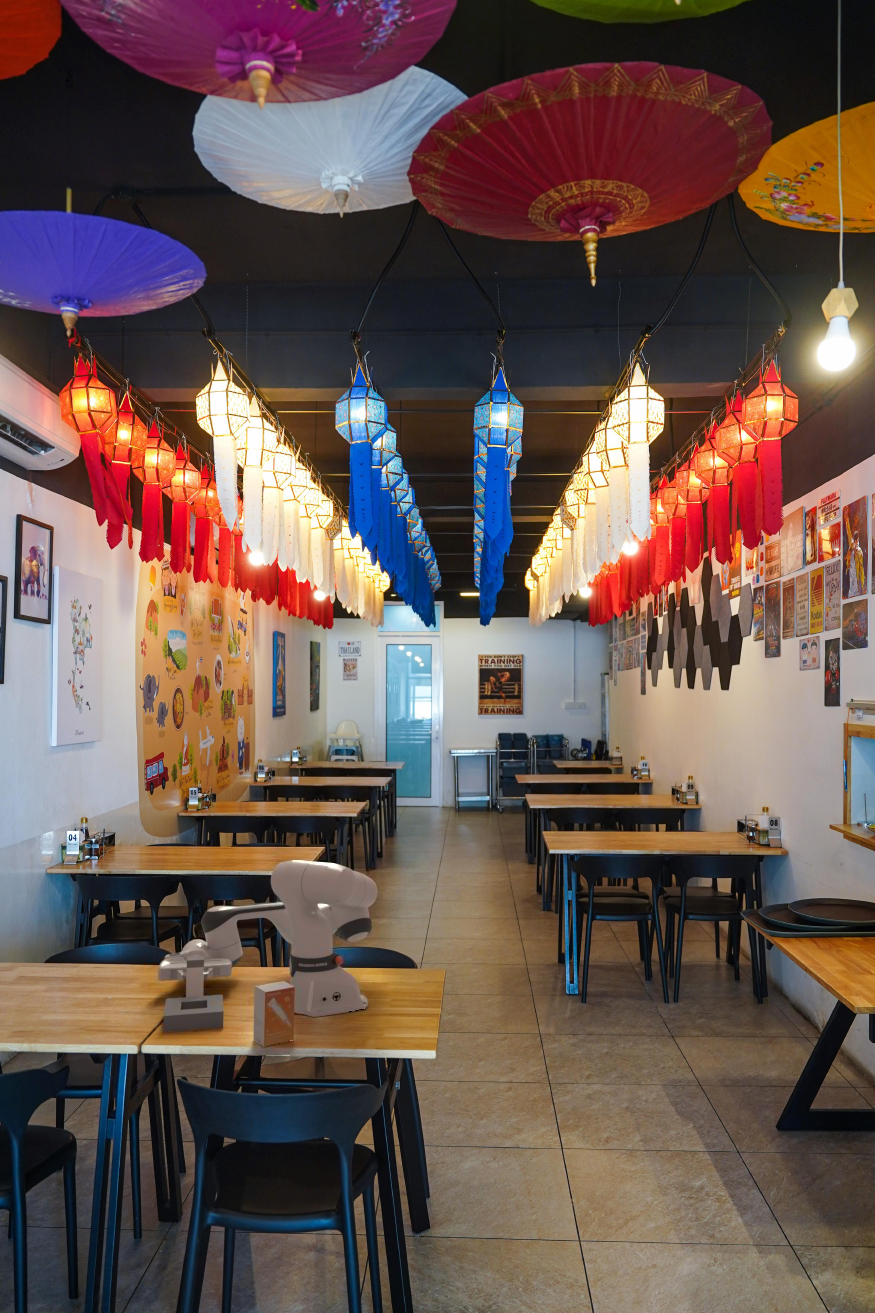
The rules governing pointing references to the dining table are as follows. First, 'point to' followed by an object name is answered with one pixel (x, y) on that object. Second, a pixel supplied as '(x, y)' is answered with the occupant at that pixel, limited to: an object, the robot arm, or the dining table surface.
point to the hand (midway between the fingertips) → (195, 977)
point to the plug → (195, 976)
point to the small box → (273, 1013)
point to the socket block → (193, 1013)
